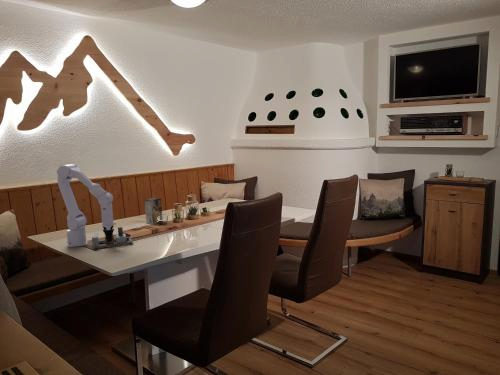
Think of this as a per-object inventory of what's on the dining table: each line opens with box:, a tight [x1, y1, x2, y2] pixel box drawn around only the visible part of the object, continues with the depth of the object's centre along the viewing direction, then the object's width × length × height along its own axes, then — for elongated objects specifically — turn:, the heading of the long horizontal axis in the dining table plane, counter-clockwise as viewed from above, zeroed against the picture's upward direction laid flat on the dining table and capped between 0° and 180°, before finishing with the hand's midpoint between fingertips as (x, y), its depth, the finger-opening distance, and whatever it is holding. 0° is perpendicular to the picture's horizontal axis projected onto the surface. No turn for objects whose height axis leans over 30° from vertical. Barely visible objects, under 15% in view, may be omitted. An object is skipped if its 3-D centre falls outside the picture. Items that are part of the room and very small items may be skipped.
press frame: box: [91, 232, 133, 250], centre depth 210 cm, size 20×11×6 cm, turn 111°
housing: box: [104, 234, 115, 244], centre depth 210 cm, size 4×4×5 cm
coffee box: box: [144, 197, 163, 225], centre depth 259 cm, size 9×6×16 cm
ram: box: [115, 226, 127, 243], centre depth 212 cm, size 5×8×8 cm, turn 21°
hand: (109, 240), depth 210 cm, fingers open, 7 cm apart
